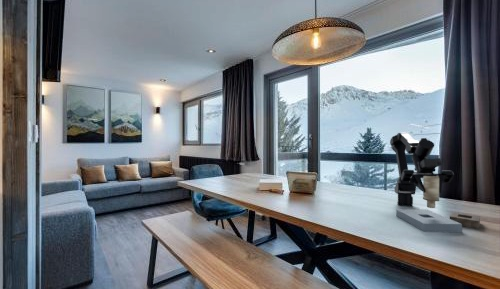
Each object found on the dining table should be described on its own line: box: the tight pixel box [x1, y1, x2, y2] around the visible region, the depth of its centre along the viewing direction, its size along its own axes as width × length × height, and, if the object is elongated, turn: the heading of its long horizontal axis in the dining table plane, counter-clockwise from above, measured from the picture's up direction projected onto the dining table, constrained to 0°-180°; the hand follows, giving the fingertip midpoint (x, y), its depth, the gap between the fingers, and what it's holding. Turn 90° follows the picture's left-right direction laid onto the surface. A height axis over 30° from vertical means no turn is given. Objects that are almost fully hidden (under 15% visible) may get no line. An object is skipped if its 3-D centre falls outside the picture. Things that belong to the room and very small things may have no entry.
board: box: [395, 208, 463, 233], centre depth 104 cm, size 20×14×3 cm
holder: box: [449, 211, 481, 230], centre depth 104 cm, size 9×9×3 cm
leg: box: [422, 176, 440, 209], centre depth 104 cm, size 6×6×13 cm
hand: (432, 192), depth 102 cm, fingers closed on leg, 5 cm apart
